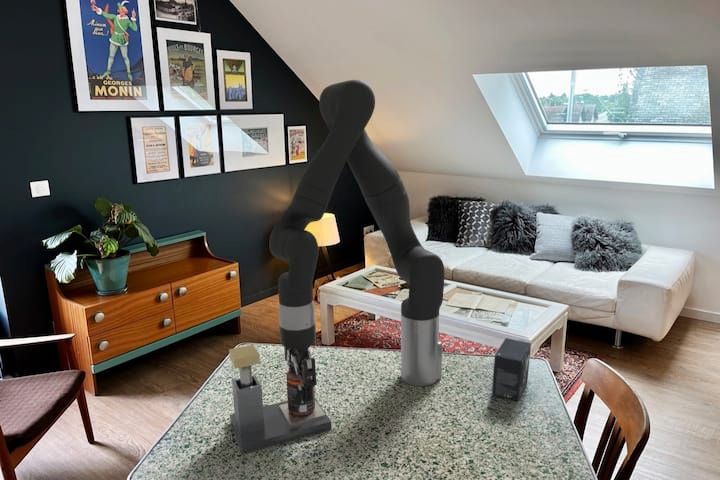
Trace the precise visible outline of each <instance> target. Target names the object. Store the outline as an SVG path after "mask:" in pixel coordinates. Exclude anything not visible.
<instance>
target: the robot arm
mask: <svg viewBox="0 0 720 480" xmlns="http://www.w3.org/2000/svg"><path fill="white" fill-rule="evenodd" d="M374 93H375V92H374V91H373V89H372V88H371V86H370V85H369V84H368V83H367V82H365V81H363V80H361V79H350V80H345V81H341V82H337V83H334V84H330V85H328V86H326V87H325V88H324V89H322V91H321V93H320V96H319V101H318V102H319V103H318V105H319V106H318V107H319V111H320V114H321V117H322V119H323V121H324V123H325V124H326V127H327V128H328V130H329V133H328V134H327V137H326V139H324V142H323V144H322V145H321V146H320V148H319V150H318V151H317V153H316V154H315V155H314V157H313V158H311V160H310V162H309V163H308V165H307V166H306V167H305V170H304V171H303V173H302V175H301V177H300V178H299V179H300V180H299V182H298V185H297V187H296V189H295V193H294V195H293V197H292V199H291V203H290V204H289V206H288V207H287V208H286V209H285V211H284V212H283V214H282V215H281V216H280V218H279V219H278V221H277V222H276V223H275V225H274V227H273V229H272V230H271V233H270V236H269V242H268V245H269V246H268V247H269V251H270V253H271V255H272V256H273V257H275V258H276V259H279V260H281V261H283V262H288V264H289V267H288V271H286V272H283V273H282V274H280V276H279V277H278V282H277V283H278V284H277V289H278V291H277V292H278V303H279V304H278V324H279V325H278V326H279V341H280V344H281V346H283V348H284V361H285V362H286V365H287V367H288V371H289V370H290V363H291V361H292V362H293V363H294V367H295V371H296V375H297V376H299V378H300V382H301V393H302V400H303V402H307V401H311V400H312V399H313V390H312V386H314V387H315V386H317V373H316V359H315V357H312V354H311V351H310V350H309V348H310V347H311V346H313V345H314V344H315V343H316V341H317V329H316V325H317V324H316V310H315V308H316V307H315V303H314V289H313V287H314V286H313V281H314V277H315V272H316V269H317V264H318V263H317V262H318V259H319V252H320V251H319V245H318V244H319V243H318V240H317V238H316V237H315V235H314V234H313V233H312V232H310V231H308V230H306V228H307V227H308V225H310V223H315V222H318V221H320V220H321V219H322V218H323V217H324V214H325V212H326V209H327V208H328V205H329V203H330V201H331V200H330V199H331V197H332V194H333V192H334V189H335V186H336V184H337V182H338V179H339V176H340V175H341V173H342V171H343V168H344V166H346V163H348V166H349V168H350V170H351V172H352V174H353V176H354V178H355V180H356V182H357V184H358V187H359V189H360V191H361V194H362V197H363V198H364V200H365V203H366V205H367V206H368V208H369V210H370V212H371V214H372V217H373V218H374V220H375V222H376V224H377V226H378V229H379V230H380V232H381V234H382V236H383V238H384V240H385V242H386V244H387V247H388V251H389V253H390V256H391V259H392V263H393V265H394V268H395V270H396V271H395V272H396V273H397V274H398V276H399V278H400V279H401V280H402V281H403V282H405V283H407V284H408V297H407V298H404V300H402V302H401V305H400V365H401V366H400V377H401V380H402V381H403V382H404V383H406V384H408V385H411V386H415V387H426V386H427V387H428V386H431V385H433V384H435V383H436V382H437V381H439V380H441V379H442V374H443V371H442V366H443V363H442V362H443V344H442V342H441V341H440V337H439V336H440V308H441V306H442V305H443V301H444V300H443V299H444V292H445V291H444V289H445V288H444V287H445V265H444V263H443V260H442V259H441V257H440V256H438V254H436V253H434V252H432V251H430V250H428V249H425V247H423V246H422V243H420V240H419V239H418V237H417V235H416V233H415V231H414V229H413V227H412V226H413V225H412V223H411V216H410V215H411V213H410V212H411V209H410V207H411V206H410V200H409V199H410V198H409V196H408V193H407V189H406V187H405V184H404V183H403V180H402V177H401V175H400V174H399V171H398V170H397V169H396V167H395V165H394V164H393V163H392V162H391V161H390V160H389V158H388V157H387V156H385V154H384V153H383V152H381V150H379V148H378V147H377V146H376V145H375V144H374V142H373V141H372V140H371V138H370V137H369V135H368V133H367V131H366V128H367V125H368V124H369V121H370V120H371V117H372V116H373V113H374V111H375V108H376V106H375V105H376V97H375V94H374ZM299 369H302V371H300V370H299ZM307 377H309V379H307Z"/></svg>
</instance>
